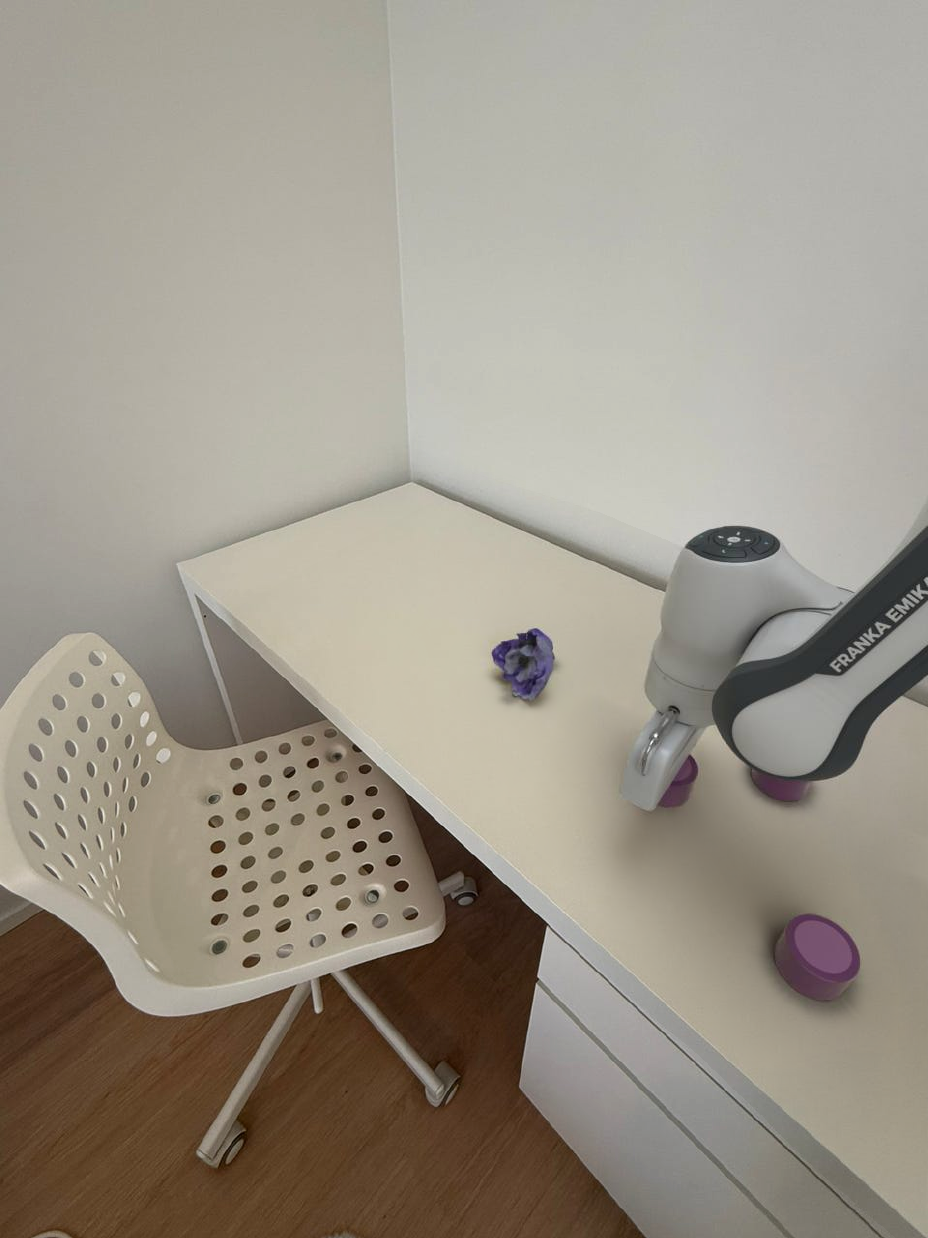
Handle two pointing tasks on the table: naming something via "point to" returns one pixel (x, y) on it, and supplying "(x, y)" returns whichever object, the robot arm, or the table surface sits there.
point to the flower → (526, 662)
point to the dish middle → (780, 787)
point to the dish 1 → (681, 785)
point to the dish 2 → (817, 957)
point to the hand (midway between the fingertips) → (666, 774)
